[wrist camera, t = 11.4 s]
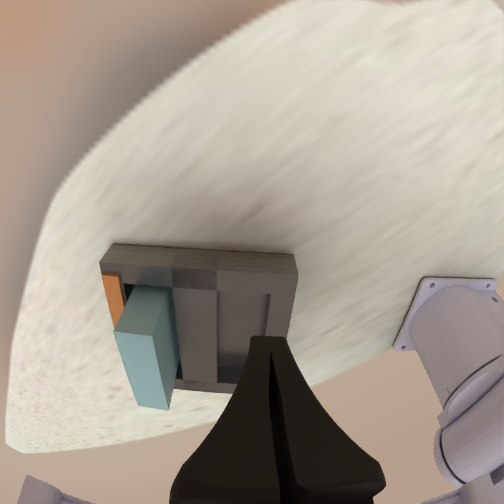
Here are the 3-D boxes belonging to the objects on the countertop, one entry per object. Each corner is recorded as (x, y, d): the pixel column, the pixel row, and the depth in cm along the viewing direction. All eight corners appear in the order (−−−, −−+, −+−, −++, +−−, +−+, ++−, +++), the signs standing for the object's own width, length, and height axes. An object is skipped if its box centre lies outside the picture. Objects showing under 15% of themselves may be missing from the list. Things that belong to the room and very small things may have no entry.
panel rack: (293, 255, 21) (299, 277, 19) (272, 374, 27) (274, 397, 25) (112, 244, 21) (97, 264, 18) (137, 363, 27) (130, 385, 24)
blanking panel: (171, 280, 21) (152, 336, 17) (179, 357, 25) (168, 410, 21) (138, 277, 21) (113, 331, 16) (152, 354, 25) (138, 405, 20)
